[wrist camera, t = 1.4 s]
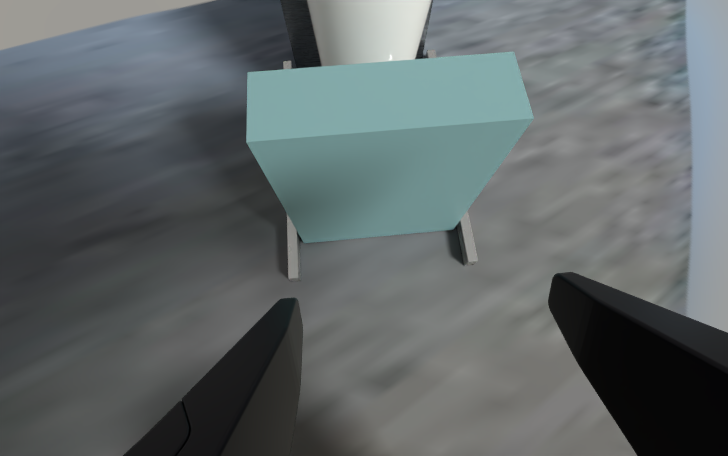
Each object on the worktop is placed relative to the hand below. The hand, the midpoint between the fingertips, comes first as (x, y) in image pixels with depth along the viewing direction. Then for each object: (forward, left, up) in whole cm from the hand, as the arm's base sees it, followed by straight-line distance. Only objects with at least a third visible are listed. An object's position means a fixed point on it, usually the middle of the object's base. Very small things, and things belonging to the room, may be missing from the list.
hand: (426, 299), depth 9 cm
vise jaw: (+7, -2, -14) cm, 15 cm away
